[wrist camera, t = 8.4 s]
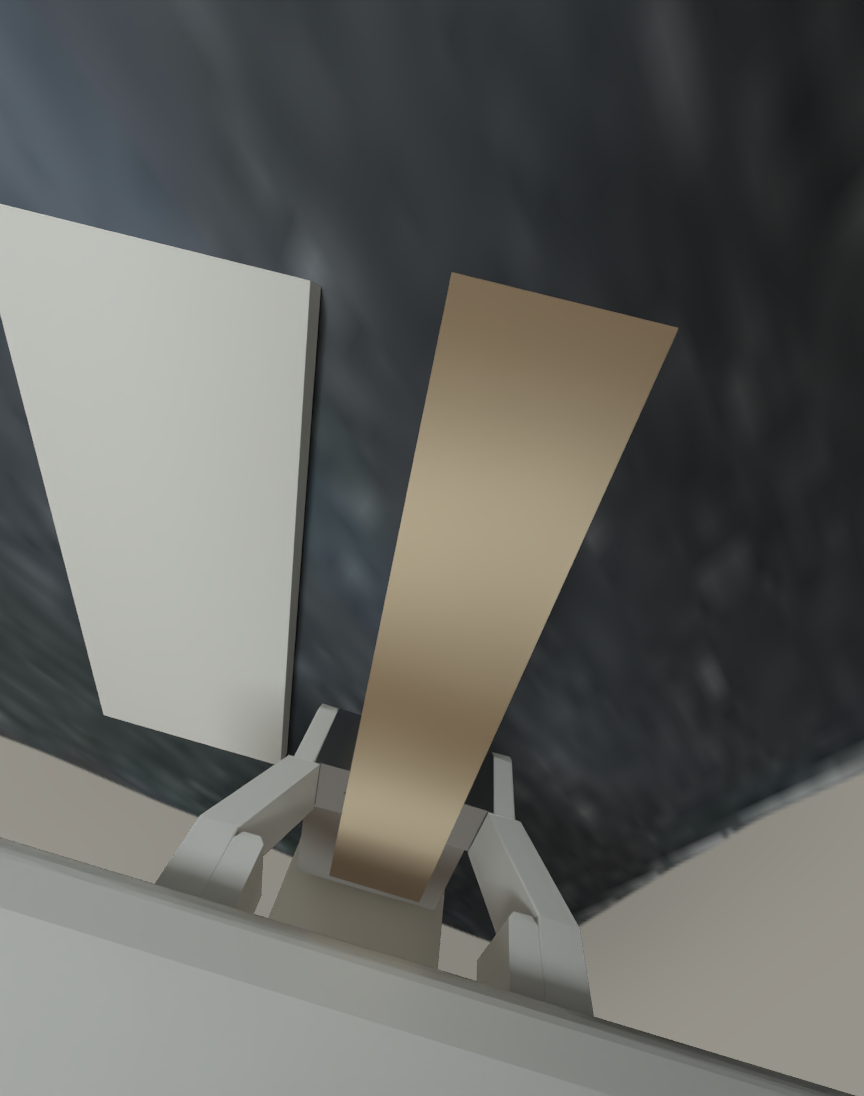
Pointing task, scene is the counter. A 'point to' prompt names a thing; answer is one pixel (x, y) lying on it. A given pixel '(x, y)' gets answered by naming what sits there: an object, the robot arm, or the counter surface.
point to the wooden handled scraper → (479, 564)
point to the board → (170, 466)
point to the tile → (359, 916)
